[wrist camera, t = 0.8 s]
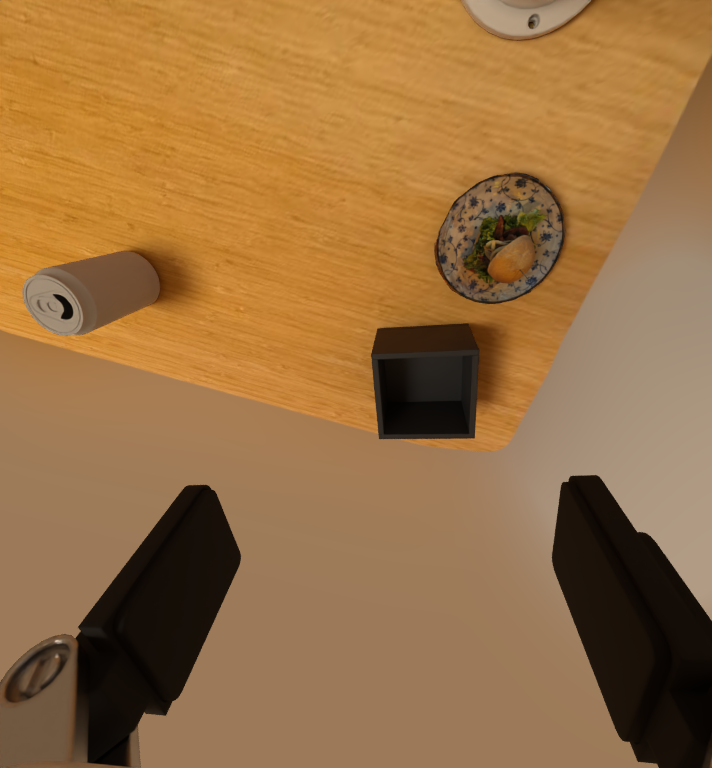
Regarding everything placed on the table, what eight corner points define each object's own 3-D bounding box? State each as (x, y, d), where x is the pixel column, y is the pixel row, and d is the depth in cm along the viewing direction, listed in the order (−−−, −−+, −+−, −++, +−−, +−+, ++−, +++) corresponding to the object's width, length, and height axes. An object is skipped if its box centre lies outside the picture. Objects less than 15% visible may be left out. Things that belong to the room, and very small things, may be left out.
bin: (377, 328, 43) (371, 354, 36) (468, 323, 41) (479, 349, 35) (383, 403, 48) (378, 439, 41) (465, 402, 46) (474, 438, 39)
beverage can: (168, 306, 45) (95, 343, 35) (119, 302, 46) (32, 336, 35) (158, 252, 42) (73, 273, 32) (105, 247, 43) (5, 267, 32)
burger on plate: (551, 153, 33) (586, 144, 27) (565, 280, 38) (598, 299, 31) (420, 203, 36) (422, 206, 30) (448, 314, 41) (455, 338, 35)
